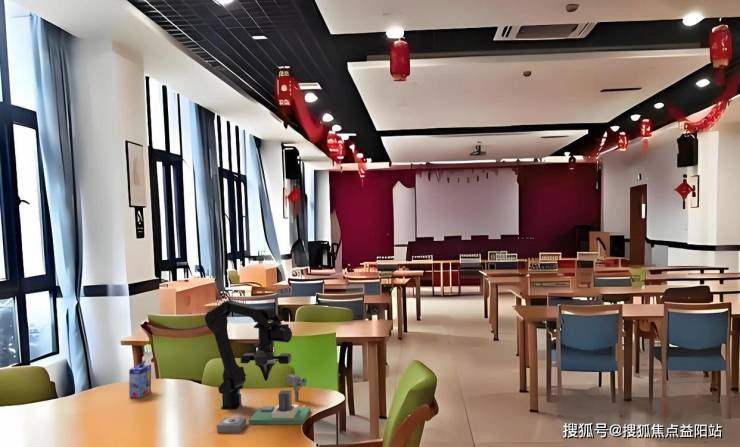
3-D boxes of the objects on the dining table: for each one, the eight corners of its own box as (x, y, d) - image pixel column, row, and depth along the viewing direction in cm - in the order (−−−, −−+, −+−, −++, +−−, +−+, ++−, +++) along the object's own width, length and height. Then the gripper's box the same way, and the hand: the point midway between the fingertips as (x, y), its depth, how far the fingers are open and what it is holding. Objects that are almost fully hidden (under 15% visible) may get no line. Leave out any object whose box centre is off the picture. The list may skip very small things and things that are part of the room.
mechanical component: (303, 403, 222) (302, 378, 222) (285, 399, 228) (284, 375, 229) (308, 401, 225) (307, 377, 225) (290, 397, 231) (289, 373, 231)
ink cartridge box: (141, 398, 236) (140, 364, 236) (128, 398, 237) (127, 364, 237) (152, 391, 246) (151, 358, 246) (140, 391, 247) (139, 358, 247)
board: (248, 424, 200) (248, 414, 200) (259, 411, 214) (259, 402, 214) (303, 424, 199) (303, 414, 199) (310, 411, 213) (310, 402, 213)
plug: (278, 416, 204) (277, 394, 204) (281, 411, 209) (281, 390, 209) (289, 416, 203) (288, 394, 203) (292, 411, 208) (291, 390, 208)
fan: (217, 432, 193) (216, 424, 193) (224, 424, 201) (224, 416, 201) (239, 432, 193) (239, 424, 193) (246, 424, 201) (246, 416, 201)
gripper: (235, 344, 206) (236, 386, 206) (285, 345, 205) (285, 387, 205) (244, 338, 217) (245, 377, 217) (291, 338, 216) (291, 378, 216)
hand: (266, 380), depth 214 cm, fingers closed
